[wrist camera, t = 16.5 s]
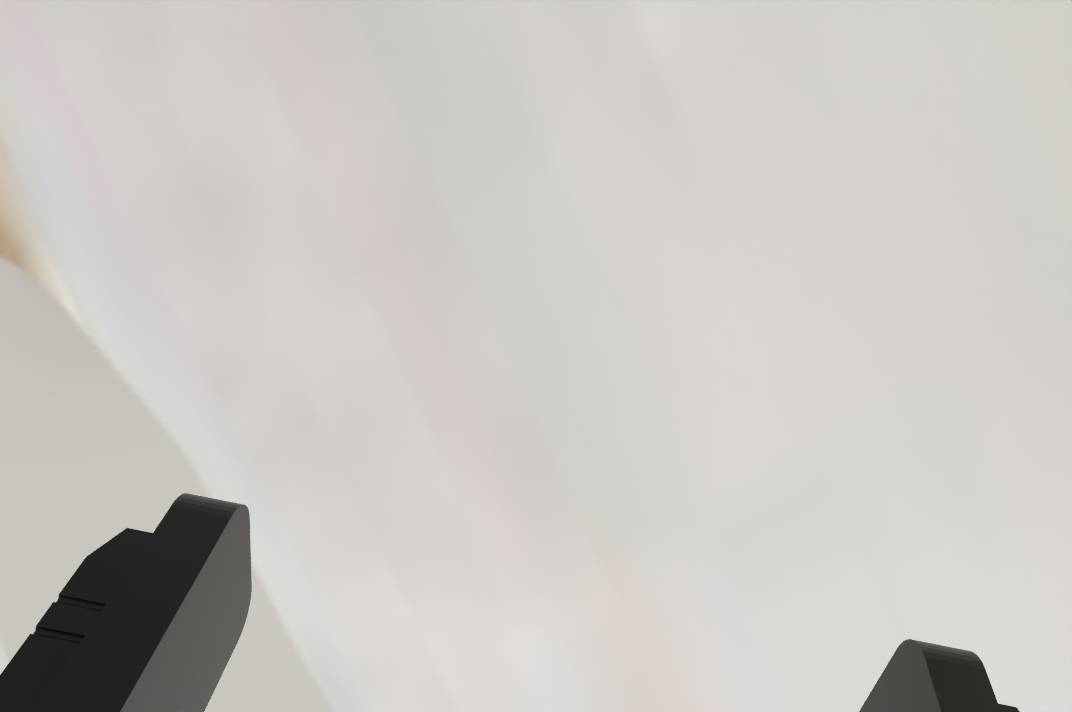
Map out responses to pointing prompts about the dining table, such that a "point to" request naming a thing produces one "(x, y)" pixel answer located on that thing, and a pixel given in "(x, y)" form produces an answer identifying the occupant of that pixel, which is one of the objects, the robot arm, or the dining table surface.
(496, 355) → the dining table surface
